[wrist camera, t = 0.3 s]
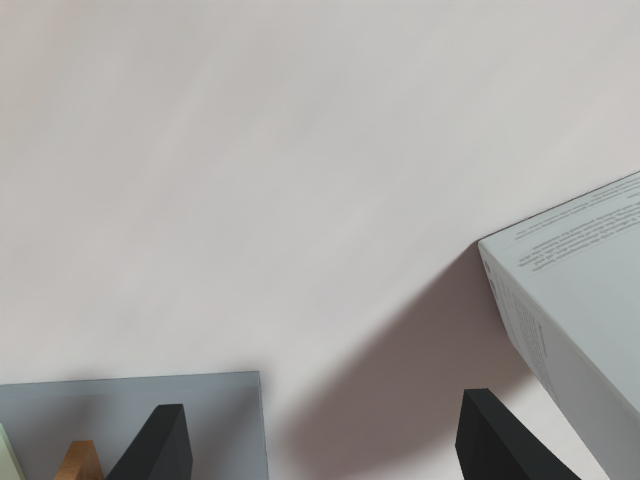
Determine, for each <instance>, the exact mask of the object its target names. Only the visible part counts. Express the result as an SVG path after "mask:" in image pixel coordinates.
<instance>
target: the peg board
mask: <svg viewBox="0 0 640 480" xmlns="http://www.w3.org/2000/svg"><path fill="white" fill-rule="evenodd" d="M163 404H183V406H184V412H185V417H186V423H187V429H188V434H189V440H190V446H191V451H192V457H193V465H192V473H191V480H269V476H268V465H267V453H266V442H265V431H264V420H263V409H262V398H261V387H260V376H259V371H257V372H238V373H219V374H200V375H181V376H162V377H143V378H124V379H105V380H86V381H68V382H49V383H30V384H11V385H0V480H54V478H55V476H56V473H57V471H58V469H59V467H60V465H61V463H62V461H63V459H64V457H65V455H66V453H67V451H68V449H69V447H70V445H71V443H72V441H86V440H93V443H94V446H95V449H96V452H97V455H98V458H99V462H100V465H101V468H102V471H103V474H104V477H105V478H106V476H107V475H108V474H109V472H110V471H111V470H112V468H113V467H114V466H115V464H116V463H117V462H118V460H119V459H120V458H121V456H122V455H123V454H124V452H125V451H126V450H127V448H128V447H129V445H130V444H131V443H132V441H133V440H134V438H135V437H136V435H137V434H138V433H139V431H140V430H141V428H142V427H143V425H144V424H145V422H146V421H147V419H148V418H149V416H150V415H151V413H152V412H153V410H154V409H155V408H156V407H157V406H158V405H163Z"/></svg>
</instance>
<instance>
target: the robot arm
mask: <svg viewBox="0 0 640 480" xmlns="http://www.w3.org/2000/svg"><path fill="white" fill-rule="evenodd" d="M455 448H456V451H457V455H458V459H459V462H460V466H461V470H462V473H463V477H464V480H581V479H580V478H579V477H578V476H577V475H576V474H575V473H573V472H572V471H571V470H570V469H569V468H568V467H567V466H566V465H565V464H563V463H562V462H561V461H560V460H559V459H558V458H557V457H556V456H555V455H554V454H553V453H552V452H551V451H550V450H549V449H548V448H547V447H546V446H544V445H543V444H542V443H541V442H540V441H539V440H538V439H537V438H536V437H535V436H534V435H533V434H532V433H531V432H530V431H529V430H528V429H527V428H526V427H525V426H524V425H523V424H522V423H521V422H520V421H519V420H518V419H517V418H516V417H515V416H514V415H513V414H512V413H511V412H510V411H509V410H508V409H507V408H506V407H505V406H504V404H503V403H502V402H501V401H500V400H499V399H498V398H497V397H496V396H495V395H494V394H493V393H492V392H491V391H490V390H489V389H488V388H486V389H466V390H464V395H463V401H462V407H461V413H460V419H459V425H458V431H457V437H456V443H455ZM192 465H193V457H192V451H191V446H190V440H189V434H188V429H187V423H186V417H185V412H184V406H183V404H163V405H158V406H157V407H156V408H155V409H154V410H153V412H152V413H151V415H150V416H149V418H148V419H147V421H146V422H145V424H144V425H143V427H142V428H141V430H140V431H139V433H138V434H137V435H136V437H135V438H134V440H133V441H132V443H131V444H130V445H129V447H128V448H127V450H126V451H125V452H124V454H123V455H122V456H121V458H120V459H119V460H118V462H117V463H116V464H115V466H114V467H113V468H112V470H111V471H110V472H109V474H108V475H107V476H106V478H105V479H104V480H191V473H192Z"/></svg>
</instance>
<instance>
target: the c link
mask: <svg viewBox="0 0 640 480" xmlns="http://www.w3.org/2000/svg"><path fill="white" fill-rule="evenodd" d="M104 479H105V477H104V474H103V471H102V468H101V465H100V462H99V458H98V455H97V452H96V449H95V446H94V443H93V440H86V441H72V443H71V445H70V447H69V449H68V451H67V453H66V455H65V457H64V459H63V461H62V463H61V465H60V467H59V469H58V471H57V473H56V476H55V478H54V480H104Z"/></svg>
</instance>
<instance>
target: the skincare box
mask: <svg viewBox="0 0 640 480" xmlns="http://www.w3.org/2000/svg"><path fill="white" fill-rule="evenodd" d="M478 248H479V252H480V255H481V258H482V261H483V264H484V267H485V270H486V273H487V277H488V280H489V283H490V286H491V288H492V291H493V294H494V297H495V300H496V303H497V306H498V309H499V312H500V315H501V318H502V320H503V323H504V326H505V329H506V332H507V334H508V337H509V340H510V342H511V343H512V344H513V346H514V347H515V348H516V350H517V351H518V353H519V354H520V355H521V357H522V358H523V359H524V361H525V362H526V363H527V365H528V366H529V368H530V369H531V370H532V372H533V373H534V374H535V376H536V377H537V379H538V380H539V381H540V383H541V384H542V385H543V387H544V388H545V390H546V391H547V392H548V394H549V395H550V397H551V398H552V399H553V401H554V402H555V403H556V405H557V406H558V408H559V409H560V410H561V412H562V413H563V415H564V416H565V417H566V419H567V420H568V422H569V423H570V424H571V426H572V427H573V429H574V430H575V431H576V433H577V434H578V435H579V437H580V438H581V440H582V441H583V442H584V444H585V445H586V447H587V448H588V449H589V451H590V452H591V453H592V455H593V456H594V457H595V459H596V460H597V462H598V463H599V464H600V466H601V467H602V468H603V470H604V471H605V473H606V474H607V475H608V477H609V478H610V479H611V480H640V172H638V173H635V174H633V175H631V176H628V177H626V178H624V179H621V180H619V181H617V182H614V183H612V184H609V185H607V186H605V187H602V188H600V189H598V190H595V191H593V192H591V193H588V194H586V195H583V196H581V197H579V198H576V199H574V200H572V201H569V202H567V203H565V204H562V205H560V206H558V207H555V208H553V209H551V210H548V211H546V212H544V213H541V214H539V215H537V216H534V217H532V218H530V219H527V220H525V221H523V222H520V223H518V224H516V225H513V226H511V227H509V228H507V229H504V230H502V231H500V232H497V233H495V234H493V235H490V236H488V237H486V238H484V239H481V240H480V241H479V242H478Z"/></svg>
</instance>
